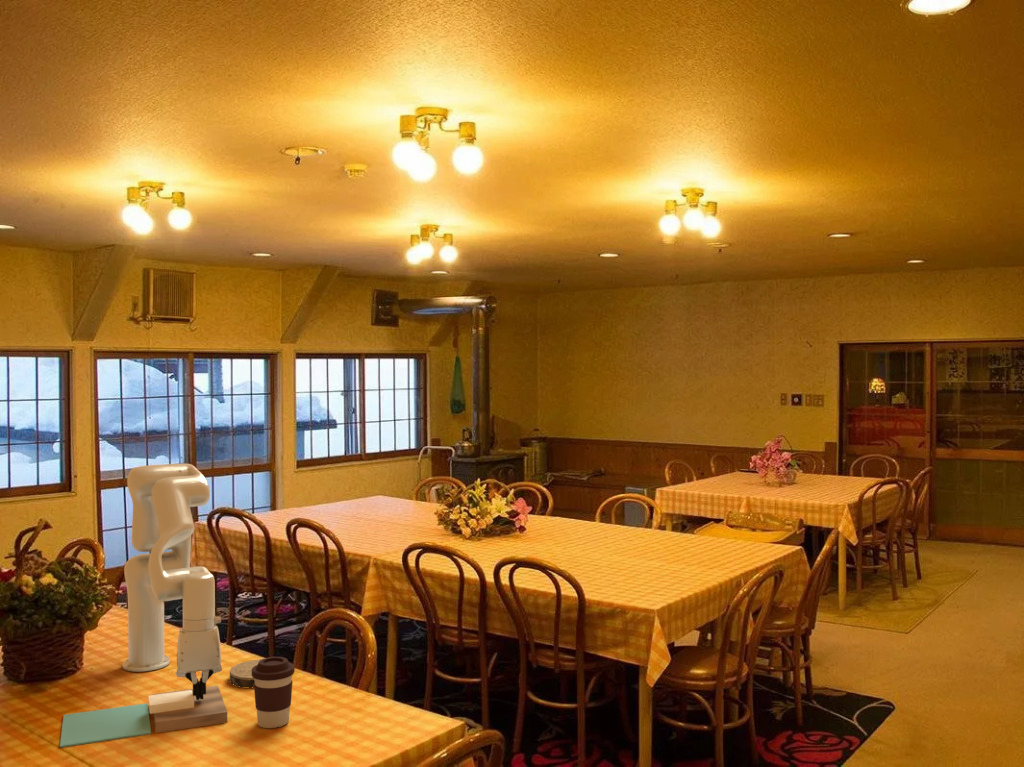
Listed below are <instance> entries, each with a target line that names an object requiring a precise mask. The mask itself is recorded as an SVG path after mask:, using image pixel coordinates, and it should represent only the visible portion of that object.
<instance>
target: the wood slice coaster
mask: <svg viewBox="0 0 1024 767" xmlns="http://www.w3.org/2000/svg"><path fill="white" fill-rule="evenodd" d="M262 659H263V658H258V659H252V660H251V659H250V660H247V661H243V662H240V663H237V664H235V665H233V666H232V667H231V668H230V670H229V683H230V684H231V683H232V684H231V685H233V684H234V685H236V686H235V687H238V686H240V687H239V688H243V687H249V688H248V689H254V683H255V679H254V678H253V677H252V668H253V667H254V666H256V665H258V662H259V661H260V660H262ZM234 685H233V686H234ZM252 687H253V688H252Z"/></svg>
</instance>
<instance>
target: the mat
mask: <svg viewBox="0 0 1024 767" xmlns="http://www.w3.org/2000/svg"><path fill="white" fill-rule="evenodd" d="M150 720H151V719H150V711H149V702H146V703H140V704H139V703H138V704H131V705H124V706H118V707H111V708H110V707H108V708H104V709H95V710H90V711H89V710H88V711H83V712H82V711H80V712H74V713H67V714H63V718H62V726H61V733H60V734H61V735H60V741H59V742H60V743H59V748H66V747H68V748H69V747H75V746H80V745H87V744H88V745H89V744H94V743H99V742H106V741H111V740H112V741H113V740H118V739H119V740H120V739H127V738H133V737H139V736H146V735H152V728H151V722H150Z"/></svg>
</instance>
